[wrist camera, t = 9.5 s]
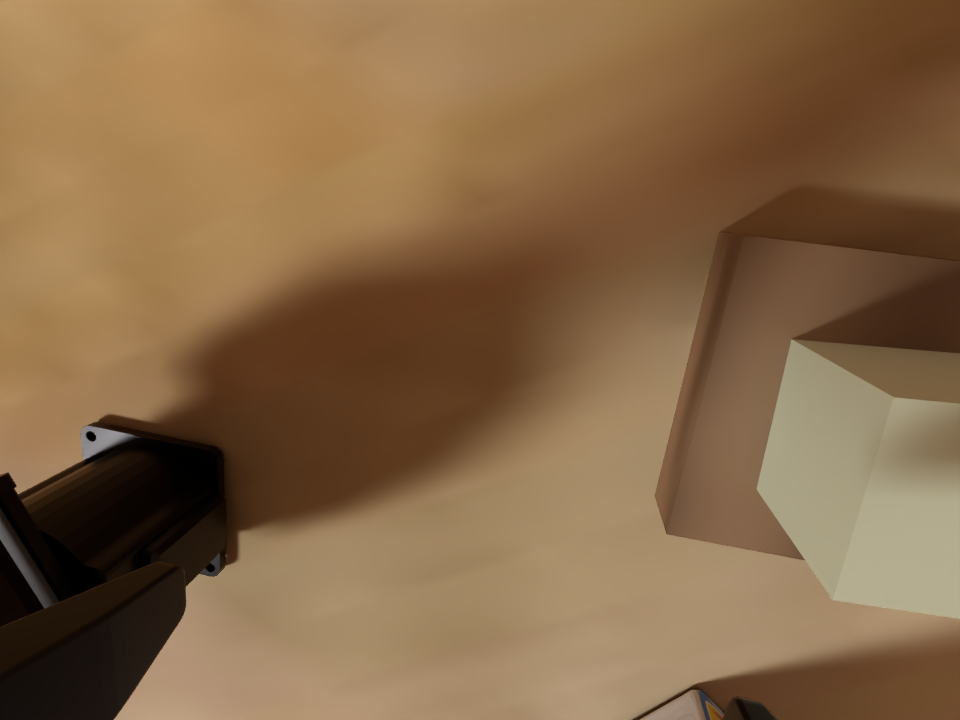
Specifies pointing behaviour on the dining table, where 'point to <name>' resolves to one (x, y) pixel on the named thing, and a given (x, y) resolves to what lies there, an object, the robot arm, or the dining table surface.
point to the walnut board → (781, 365)
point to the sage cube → (870, 472)
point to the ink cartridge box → (688, 708)
